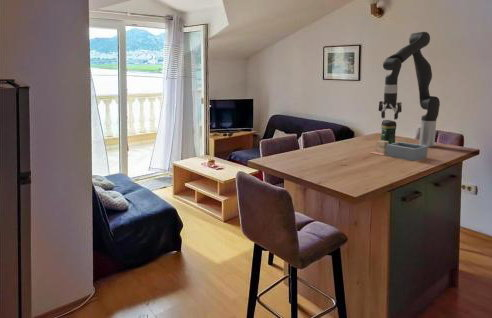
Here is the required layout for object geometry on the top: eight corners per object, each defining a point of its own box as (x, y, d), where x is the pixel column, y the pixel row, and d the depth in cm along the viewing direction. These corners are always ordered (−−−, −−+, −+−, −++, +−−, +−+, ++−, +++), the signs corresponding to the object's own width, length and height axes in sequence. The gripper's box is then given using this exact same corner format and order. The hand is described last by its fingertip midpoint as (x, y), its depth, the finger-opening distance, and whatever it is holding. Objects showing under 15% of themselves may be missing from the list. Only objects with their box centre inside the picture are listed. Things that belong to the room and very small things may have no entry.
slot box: (399, 152, 258) (400, 141, 256) (426, 157, 244) (427, 146, 242) (386, 156, 249) (387, 144, 248) (414, 161, 236) (415, 149, 234)
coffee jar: (396, 149, 268) (398, 120, 264) (385, 149, 267) (387, 121, 262) (388, 146, 277) (390, 118, 273) (378, 147, 276) (379, 119, 271)
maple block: (380, 151, 261) (381, 140, 259) (387, 152, 257) (388, 141, 255) (376, 152, 258) (376, 141, 256) (383, 153, 254) (384, 142, 252)
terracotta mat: (381, 150, 264) (381, 149, 264) (393, 152, 258) (393, 152, 257) (370, 153, 257) (370, 152, 257) (382, 155, 250) (382, 154, 250)
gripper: (404, 92, 246) (403, 119, 249) (384, 91, 257) (382, 117, 260) (397, 93, 241) (396, 120, 245) (376, 92, 252) (375, 118, 256)
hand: (389, 118), depth 253 cm, fingers open, 8 cm apart
